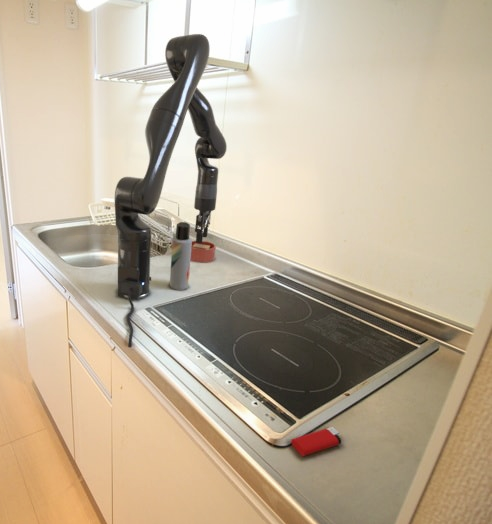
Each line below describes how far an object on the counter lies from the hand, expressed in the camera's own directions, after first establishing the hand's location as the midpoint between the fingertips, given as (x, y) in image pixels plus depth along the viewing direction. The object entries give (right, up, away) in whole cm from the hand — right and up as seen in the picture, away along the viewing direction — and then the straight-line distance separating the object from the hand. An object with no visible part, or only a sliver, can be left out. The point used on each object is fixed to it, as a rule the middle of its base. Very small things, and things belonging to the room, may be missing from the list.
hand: (201, 239), depth 134 cm
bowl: (0, -7, +3) cm, 7 cm away
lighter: (+6, -37, -77) cm, 86 cm away
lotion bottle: (-11, -16, -23) cm, 30 cm away
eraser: (0, -6, +2) cm, 7 cm away
